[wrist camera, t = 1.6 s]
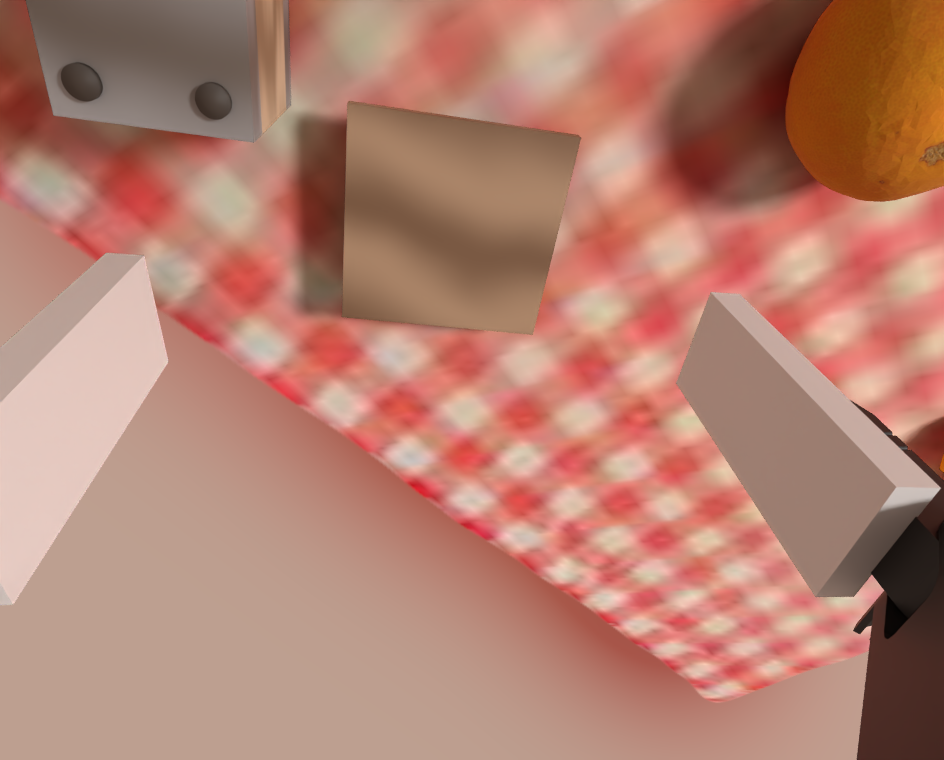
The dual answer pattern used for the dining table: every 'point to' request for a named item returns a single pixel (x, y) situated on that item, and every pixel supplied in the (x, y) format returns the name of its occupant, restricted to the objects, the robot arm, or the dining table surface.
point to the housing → (167, 63)
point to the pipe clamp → (942, 464)
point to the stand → (450, 218)
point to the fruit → (871, 99)
